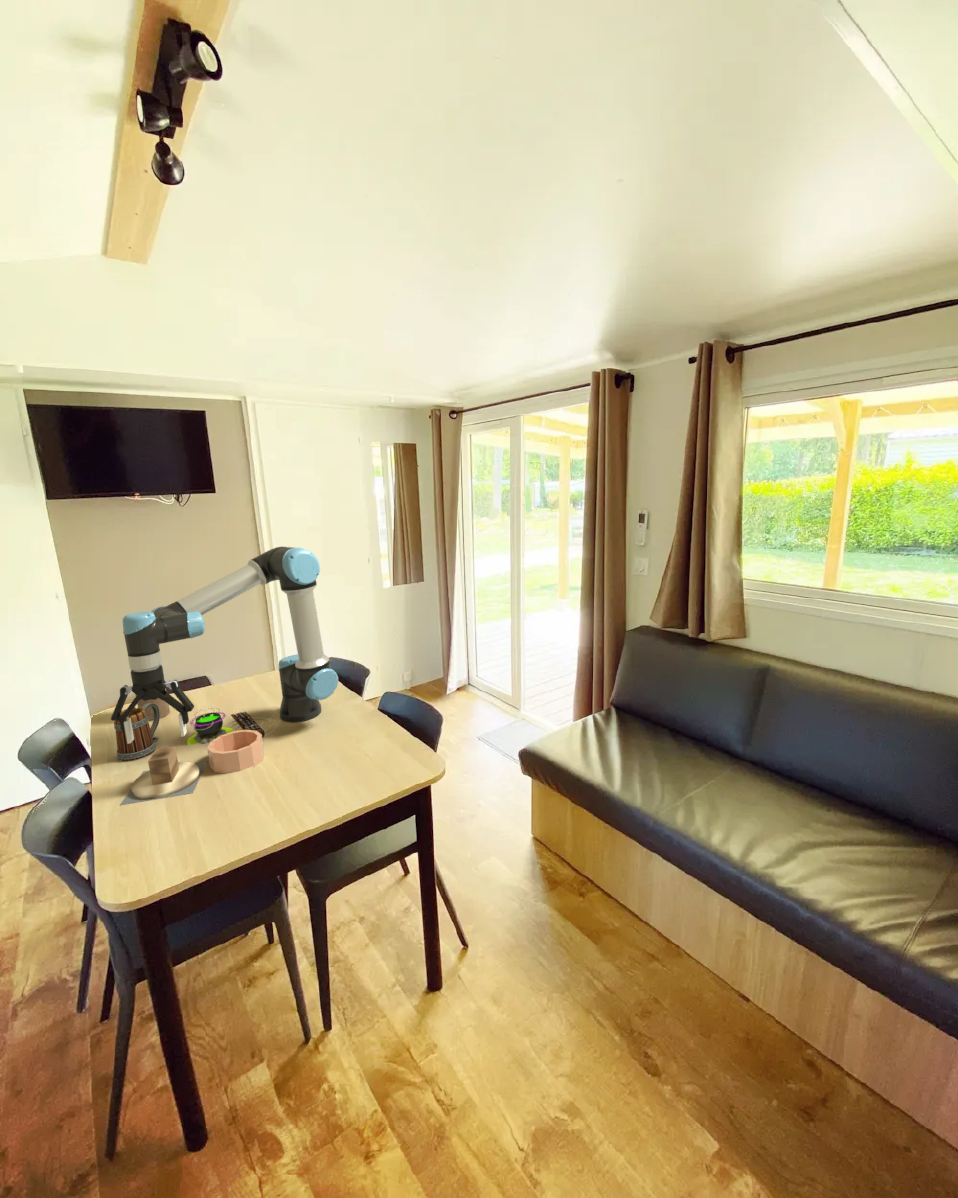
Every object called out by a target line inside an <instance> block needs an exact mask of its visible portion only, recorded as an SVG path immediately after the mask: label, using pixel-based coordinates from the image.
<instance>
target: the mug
mask: <svg viewBox="0 0 958 1198" xmlns="http://www.w3.org/2000/svg"><path fill="white" fill-rule="evenodd" d="M149 707H152V709H153V712H154V720H152V724H151V726H150V724H149V721H148V720H149V717H148V716H147V710H148V708H149ZM126 709H127V708H126ZM126 709H124V710H122V711H121V713H120V715H123V713H124V712H125V711H126ZM127 718H131V724H132V729H133V735H134V740H133V741H132V742H131V743H129V744H127V738H126V732H122V731H121V725H120V722H119V721H117V720H115V721H113V724H114V726H113V727H114V730H115V739H116V749H117V750H116V756H117V758H118V761H121V762H134V761H137V760H141V759H144V758H146V757H148V756H150V755H153V754H154V752H155V751H156V750H157V748H156V745H157V744H156V743H157V742H158V740H159V736H158V735H157V736H156V735H155V732H156V731H157V728H158V726H159V724H160V719H161V718H160V712H159V708H158V706H157V705H156V704H154V703H147V704H145V705H144V706H143V707H142V708H141V707H138V706H137V708H136V707H134V709H133V710H132V711H131V713H130V714H129V715H128V717H127Z"/></svg>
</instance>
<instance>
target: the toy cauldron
mask: <svg viewBox="0 0 958 1198" xmlns="http://www.w3.org/2000/svg"><path fill="white" fill-rule="evenodd" d="M207 706H208V705H207ZM207 706H204V708H205V707H206V708H207ZM206 708H205V709H200V712H201V711H204V710H205V711H204V712H205V713H203V714H200V715H197V716H196V714H197V713H199V711H197V712H196V713H194V717H193V718H191V720H190V721H189V725H192V726H193V727H194V728H193V729H194V730H195V732H196V733H195V734H193V735H191V736H190V737H189V738H187V739H186V745H187V746H190V745H195V744H207V743H210V742H211V741H213V740H214V739H216V738H217V737H219V736H221V735H224V734H227V733H230V732H233V731H235V730H234V729H233V728H231V727H227V726H223V725H224V719H225V718H226V717H227V714H226V713H225V712H221V711H220V709H218V708H217V707H215V709H218V711H215V710H214V709H213V710H212V711H213V712H207V713H206V711H207V710H211V708H207V709H206ZM221 715H222V716H221ZM194 720H195V721H194Z"/></svg>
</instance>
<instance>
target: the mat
mask: <svg viewBox="0 0 958 1198" xmlns="http://www.w3.org/2000/svg"><path fill="white" fill-rule="evenodd" d="M193 763H194V762H193ZM208 763H209V760H208V761H202V762H196V763H194V764H196V765H198V767H199V771H200V775H199V777H198V779H197V780H196V781H195V782H194V783H193V784H192V785H190V786H189V787H187V788H185V789H183V790H181V791H179V792H177V793H174V794H172V795H168V796H165V797H160V798H154V799H141V798H137V797H135V796H134V795H133V793H132V788H131V787H130V789H129V791H128V792H127V794H126V795H125V797H124V799H123V800H122V801H121V802H120V804H119V806H126V805H130V804H137V803H142V802H148V801H156V800H161V799H167V798H172V797H178V796H179V797H180V796H186V795H191V794H193V793H194V791H195V790H196V787H197V785H198V783H199V781H200V779H201V777H202V775H203V773H204V771H205V769H206V767H207V764H208ZM148 771H150V769H149V770H143V771H142V773H141V774H140V775H139V776H141V775H142V774H144V773H146V772H148Z"/></svg>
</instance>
